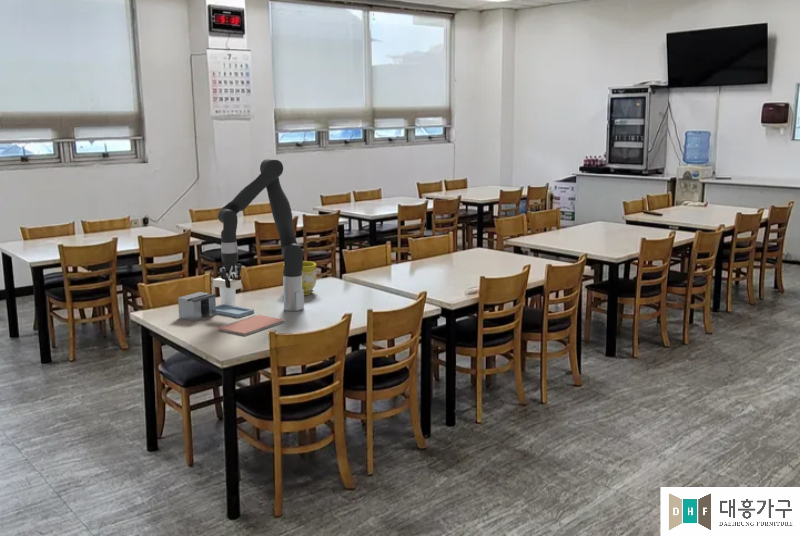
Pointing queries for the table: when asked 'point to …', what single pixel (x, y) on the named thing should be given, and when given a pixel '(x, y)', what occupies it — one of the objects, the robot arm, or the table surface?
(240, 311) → the tray
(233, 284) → the cream rectangular block
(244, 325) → the notebook
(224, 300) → the white cup
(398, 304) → the table surface
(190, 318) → the dispenser
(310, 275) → the flowerpot
